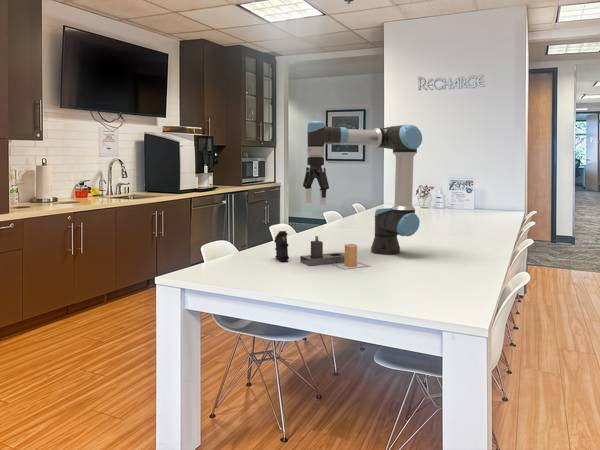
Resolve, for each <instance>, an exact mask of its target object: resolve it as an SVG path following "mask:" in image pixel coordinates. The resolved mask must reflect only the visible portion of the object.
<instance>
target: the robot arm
mask: <svg viewBox="0 0 600 450" xmlns="http://www.w3.org/2000/svg"><path fill="white" fill-rule="evenodd" d="M306 129H307V131H306V133H307V134H306V135H307V137H306V138H307V148H306V150H307V151H306V152H307V163H306V164H307V166H306V167H305V168H306V169H305V175H304V179H303V183H302V187H303V188H304V189H305V202H304V203H305V204H312V185H313V183H314V180H315V179H316V180H317V182H318V185H319V187H320V188H319V206H326V205H327V191H328V190H329V189H330V185H329V181H328V177H327V172H326V171H327V170H326V167H322V166H324V165H325V157H324V156H325V145H338V146H339V145H340V146H343V145H345V146H349V145H350V146H372V147H373V148H381V149H387V150H388V149H389V150H392V154H393V156H395V173H394V174H395V175H394V176H395V177H394V179H395V180H394V181H395V182H394V205H393V206H392V207H390V208H389V207H388V208H377V209H375V213H374V238H373V241H372V244H371V246H370V253H374V254H378V255H396V254H400V253H401V247H400V244H399V239H398V236H400V237H411V236H413V235H414V234H416V232H417V231H418V230H419V228H420V218H419V217H418V215H417V214H416V208H415V207H414V206H413V192H414V191H413V189H414V188H413V186H414V156H415V155H416V154H417V153H418V148H420V147H421V145H422V144H423V135H422V131H421V130H420V129H419V127H417V126H416V125H413V124H401V125H391V126H386V127H375V128H373V129H357V128H356V129H354V128H352V129H351V128H350V129H348V128H347V127H344V126H343V127H342V126H326V125H325V122H324V121H319V120H312V121H308V124H307V128H306Z"/></svg>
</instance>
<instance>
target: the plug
mask: <svg viewBox="0 0 600 450" xmlns="http://www.w3.org/2000/svg"><path fill="white" fill-rule="evenodd" d="M344 253H345V255H344V264H343V265H344V266H346V267H348V268H353V267H358V263H357V262H358V244H354V243H346V244H345V243H344Z"/></svg>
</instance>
